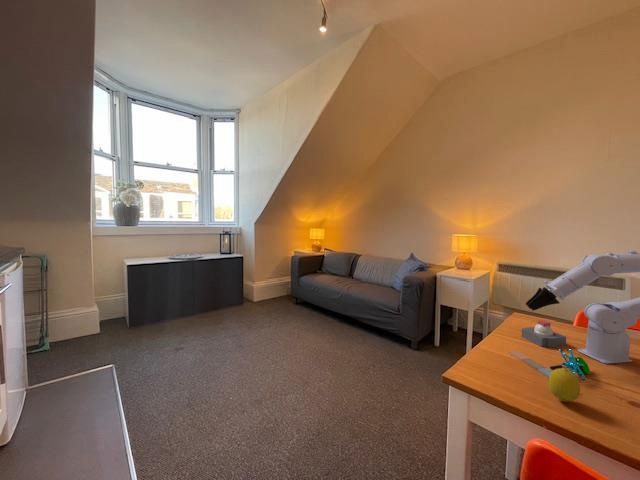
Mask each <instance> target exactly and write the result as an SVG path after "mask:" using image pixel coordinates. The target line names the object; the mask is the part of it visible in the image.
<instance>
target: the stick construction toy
mask: <svg viewBox="0 0 640 480" xmlns="http://www.w3.org/2000/svg"><path fill="white" fill-rule="evenodd" d="M558 351H559V353H560V354H561V356H562V358H563V360H564V361H565V362H561V363H560V364H557V365H551V366H549V368H550V370H556V369H563V368H566V369H567V370H568V371H570V372H572V373H573V374H574V375H575V374H577V375H578V376H579V377H582V379H581V381H584V382H585V381H587V378H586V376H585V375H590V373H591V371H590V367H589V365H588V363H587V362H586V360H585V359H583V358H582V357H581V356H576V357H575V356H574V353H573V350H572V349H567V350H566V351H567V352H569V353H570V356H569V355H568V354H567V353H566V352H565V353H564V352H563V351H564V348H562V349H559V350H558Z"/></svg>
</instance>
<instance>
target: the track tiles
mask: <svg viewBox="0 0 640 480" xmlns="http://www.w3.org/2000/svg"><path fill="white" fill-rule="evenodd" d="M508 354H509V355H510V356H511V355H512V356H513V357H514V358H516V359H518V360H519V361H521V362H523V364H525V365H527V366H529V367H531V368H532V369H534V370H535V371H537V372H538V373H540V374H542V375H543V376H545V377H547V378H548V379H549V377H550V374H551V373H552V372H553V371H554V370H552V369H549V368H548V367H546V366H544V365H542V364H541V363H539V362H538V361H536V360H534V359H532V358H531V357H529V356H527V355H526V354H524V353H522V352H520V351H519V350H510V351H508Z"/></svg>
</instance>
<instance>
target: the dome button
mask: <svg viewBox="0 0 640 480" xmlns="http://www.w3.org/2000/svg"><path fill="white" fill-rule="evenodd" d="M534 327H535V328H534V332H536V333H538V334H540V335H543V336H550V335H553V331H554V330H553V328H552V327H551V322H549V321H547V320H543V319H542V320H537V323H536V324H535V326H534Z"/></svg>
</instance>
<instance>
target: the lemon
mask: <svg viewBox="0 0 640 480" xmlns="http://www.w3.org/2000/svg"><path fill="white" fill-rule="evenodd" d="M552 371H553V372H552V373H551V374H550V377H549V378H548V388H549V390H550V392H551V393H552V395H554V396H555V397H556V398H557V399H559V400H560V401H561V402H563V403H564V402H573V401H576V400H577V399H578V397H579V396H580V393H581V384H580V381H579V379H578V377H577V376H576V375H575V374H573V373H572V372H570V370H569V369H568V368H567V369H566V368H558V369H553V370H552Z"/></svg>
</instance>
